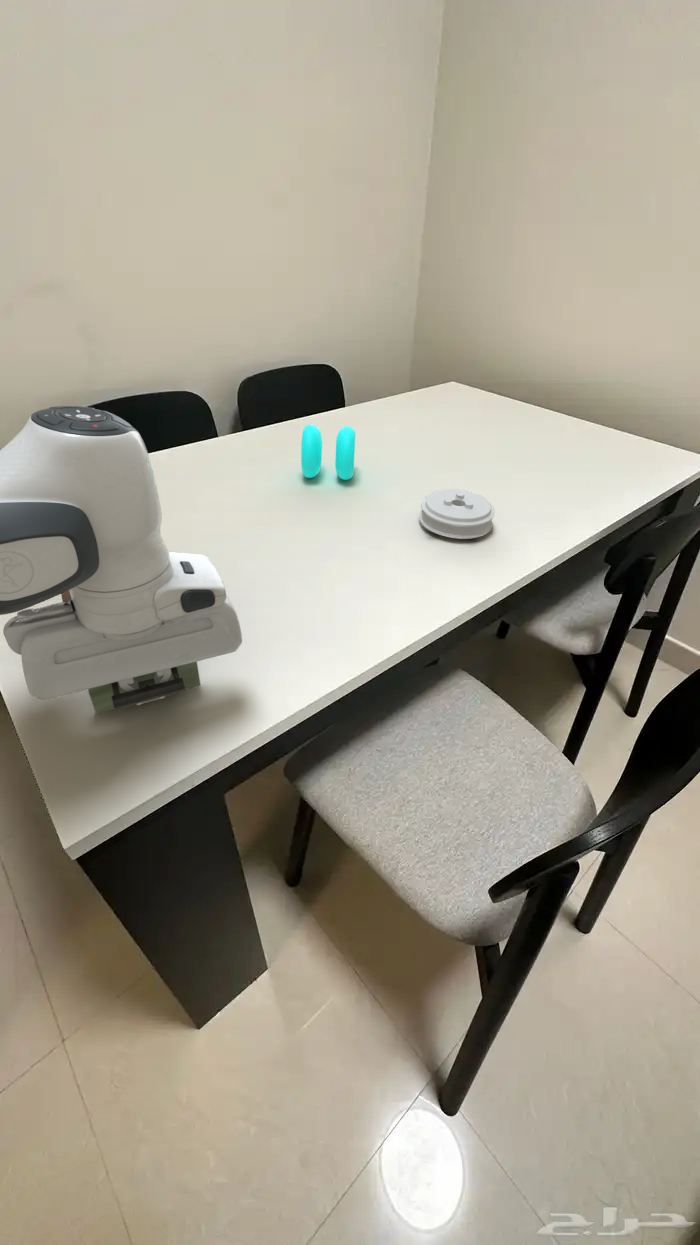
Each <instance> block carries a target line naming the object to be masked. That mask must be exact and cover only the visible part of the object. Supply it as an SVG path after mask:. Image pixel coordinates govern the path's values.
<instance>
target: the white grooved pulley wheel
mask: <svg viewBox="0 0 700 1245" xmlns="http://www.w3.org/2000/svg"><path fill="white" fill-rule="evenodd" d="M420 508H421V511H420V513H419V522H420V523H421V525H422V526H423V527H424V528H425V529H427V530H428V531H430V532H431V533H434V534H437V535H438V536H442V537H446V538H450V539H451V538H452V539H459V540H466V539H476V538H479V537H482V536H486V535H487V534H489V533H490V532H491V530H492V528H493V522H492V520H493V519H494V517H495V514H496V510H495V507H494V505H493V504H492V503H491V502H490V501H489V500H488V499H487V498H485V497H484V496H483V495H480V494H478V493H476V492H473V491H470V490H466V489H459V488H445V489H444V488H442V489H437V490H435V491H433V492H431V493H429V494H428V495H426V496H424V497H423V498H422V500H421V501H420Z"/></svg>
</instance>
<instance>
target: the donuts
mask: <svg viewBox="0 0 700 1245" xmlns="http://www.w3.org/2000/svg"><path fill="white" fill-rule="evenodd" d="M335 441H336V442H335V457H334V458H335V459H334V460H335V461H334V466H335V471H336V474H337V476H338V477H339V478H340V479H341V480H345V481H348V480H350V479H351V478H353V476H354V472H355V454H356V452H355V451H356V431H355V429H354V428H353V427H352V426H349V425H346V426H343V427H342V428H341V429H340V430H339V431H338V433H337V435H336V440H335ZM300 450H301V451H300V456H301V457H300V462H301V463H300V464H301V467H300V468H301V472H302V475H303V476H304V477H305V478H307V479H312V478H315V477H316V476H317V475H318V474H319V472H320V471H321V467H322V460H323V459H322V458H323V437H322V433H321V431H320V429H319V427H318V426H317V425H315V424H313V423H310V424H307V425H305V426H304V428H303V429H302V434H301V449H300Z"/></svg>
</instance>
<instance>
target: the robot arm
mask: <svg viewBox="0 0 700 1245" xmlns="http://www.w3.org/2000/svg"><path fill="white" fill-rule="evenodd" d="M162 510H163V509H162V505H161V499H160V493H159V490H158V486H157V480H156V477H155V473H154V470H153V466H152V462H151V458H150V455H149V452H148V449H147V447H146V444H145V442H144V439H143V438H142V436H141V434H140V432H139V431H138V430H137V429H136V428H135V427H134V426H132V425H131V424H130V423H129V422H127V421H126V420H125V419H123V418H121V417H120V416H118V415H116V414H114V413H112V412H109V411H107V410H101V409H96V408H95V407H88V406H80V405H79V406H78V405H57V406H50V407H48V408H43V409H40V410H39V409H38V410H37V411H35V412H34V413H32V414H31V415H30V416H29V418H28V420H27V421H26V424H25V425H24V426H23V428H22V429H21V430H20V431H19V432H18V433H17V434H16V435H15V436H14V437H13V438H12V439H11V440H10V441H9V442H8V443H7V444H6V445H5V446H3V447H2V448H0V616H4V615H9V614H13V613H16V616H13V617H11V618H10V619H9V620H7V621H6V622H5V624H4V626H3V630H2V631H3V632H2V633H3V636H4V638H5V641H6V643H7V646H8V647H9V648H10V650H11V651H12V652H13V653H15V654H17V655H20V656H21V665H22V671H23V676H24V681H25V684H26V687H27V690H28V693H29V695H30V696H32V697H34V698H36V699H39V700H41V701H47V700H51V699H55V698H59V697H62V696H67V695H70V694H73V693H74V694H75V693H78V692H82V691H86V690H87V691H88V689H90V688H94V687H98V686H102V685H106V684H110V683H114V682H119V685H120V687H121V688H122V689H124V690H125V691H127V692H128V691H132V690H136V689H140V688H144V687H147V686H151V685H155V684H159V683H163V682H167V681H168V679H169V677H170V676H171V674H172V673H171V668H173V667H177V666H181V665H185V664H189V663H193V662H197V663H198V662H201V661H204V660H208V659H209V660H210V659H213V658H217V657H220V656H224V655H228V654H232V653H235V652H237V650H238V649H239V648H240V646H241V645H242V644H243V634H242V628H241V624H240V620H239V617H238V614H237V610H236V609H235V607H234V605H233V603H232V601H231V599H230V597H229V595H228V594H227V590H226V587H225V586H226V585H225V584H224V583H225V582H224V581H223V580H224V579H223V578H222V575H221V573H220V572H219V569H218V568H217V566H216V565H215V564H214V562H213V561H212V560H211V558H210V557H209V556H208V555H206V554H200V553H188V552H180V551H179V552H177V551H169V549H168V547H167V545H166V543H165V541H164V540H163V536H162V531H161V528H162V523H163V511H162ZM68 590H69V591H70V595H71V598H72V600H71V601H66V602H62V601H61V602H56V603H51V604H49V605H46V606H42V607H37V608H33V607H34V606H36V605H38V604H41V603H43V602H45V601H48V600H50V599H52V598H55V597H57V596H59V595H61V594H62V593H64V592H66V591H68ZM31 607H32V608H31ZM153 672H156V673H155V675H154V678H152V679H149V680H145V681H141V682H137V681H136V680H135V679H133V678H134V677H138V676H142V675H146V674H149V673H153ZM165 698H166V696H163V697H160V698H156V699H152V700H148V701H145V702H141V703H137V704H136V706H140V705H144V704H147V703H151V702H154V701H158V700H162V699H165Z"/></svg>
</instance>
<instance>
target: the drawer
mask: <svg viewBox="0 0 700 1245" xmlns="http://www.w3.org/2000/svg"><path fill="white" fill-rule="evenodd" d="M155 673H156V672H153V673H149V674H146V675H142V676H138V677H134V678H133V679H135V680H136V681H137V682H141V681H145V680H149V679H152V678H154V675H155ZM171 673H172V674H171V676H170V677H169V679H168V681H167V682H163V683H159V684H155V685H151V686H147V687H144V688H140V689H136V690H132V691H128V692H127V691H125V690H124V689H122V688H121V687H120V685H119V682H114V683H110V684H106V685H102V686H98V687H94V688H90V689H87V692H88V695H89V697H90V700H91V704H92V706H93V709H94V712H95V714H99V713H103V712H107V711H110V710H118V709H123V708H126V707H130V706H133V705H137V703H141V702H145V701H148V700H152V699H156V698H160V697H163V696H165V697H166V696H171V695H175V694H178V693H181V692H185V691H186V690H188V689H192V688H195V687H199V686H201V679H200V672H199V666H198V661H197V662H193V663H189V664H185V665H181V666H177V667H173V668H171Z"/></svg>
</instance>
